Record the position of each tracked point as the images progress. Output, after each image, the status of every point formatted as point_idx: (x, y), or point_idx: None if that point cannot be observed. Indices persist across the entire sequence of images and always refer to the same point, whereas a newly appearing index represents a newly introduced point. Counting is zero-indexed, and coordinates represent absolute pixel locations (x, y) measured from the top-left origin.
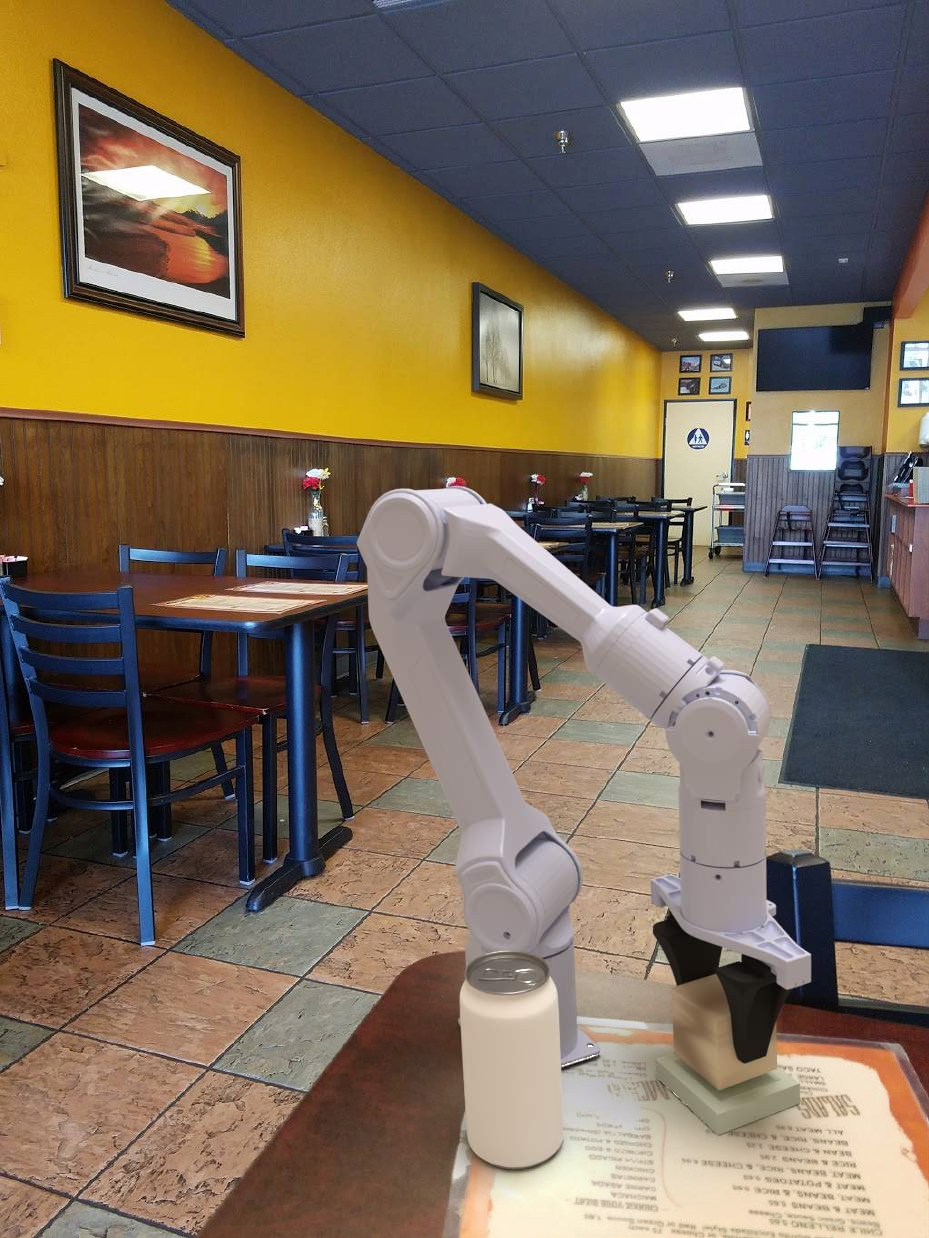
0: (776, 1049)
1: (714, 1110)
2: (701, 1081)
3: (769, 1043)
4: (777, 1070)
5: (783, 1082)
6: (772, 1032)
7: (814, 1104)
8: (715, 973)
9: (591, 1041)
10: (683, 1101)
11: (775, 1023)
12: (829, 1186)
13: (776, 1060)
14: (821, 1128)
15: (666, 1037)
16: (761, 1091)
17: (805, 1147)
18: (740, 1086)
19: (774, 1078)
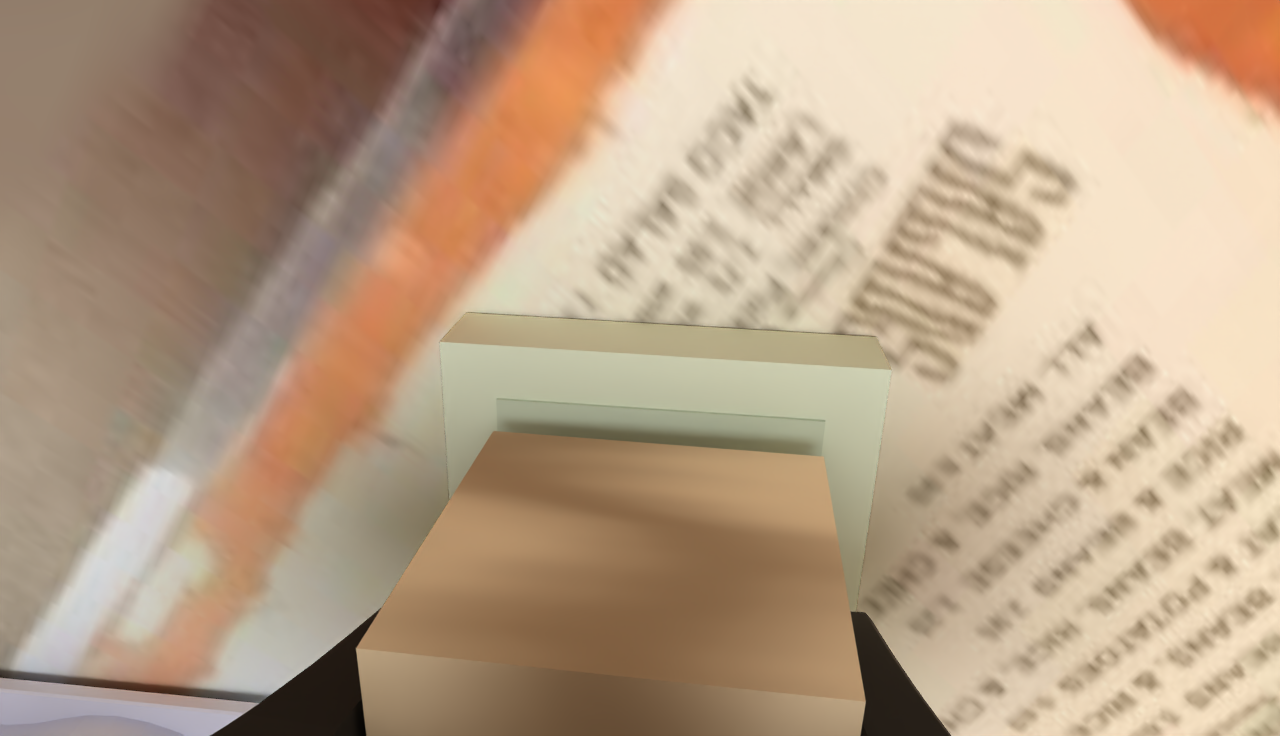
0: (830, 506)
1: None
2: None
3: (887, 646)
4: (770, 384)
5: (844, 421)
6: (915, 687)
7: (914, 291)
8: (357, 723)
9: (231, 720)
10: None
11: (848, 601)
12: (1231, 570)
13: (824, 477)
14: (1028, 377)
15: (275, 462)
16: None
17: (1055, 497)
18: None
19: (806, 436)
